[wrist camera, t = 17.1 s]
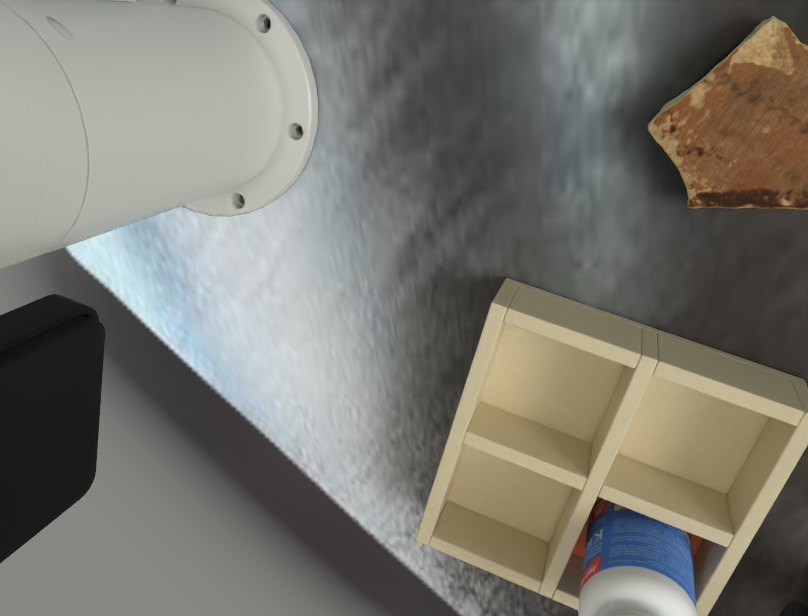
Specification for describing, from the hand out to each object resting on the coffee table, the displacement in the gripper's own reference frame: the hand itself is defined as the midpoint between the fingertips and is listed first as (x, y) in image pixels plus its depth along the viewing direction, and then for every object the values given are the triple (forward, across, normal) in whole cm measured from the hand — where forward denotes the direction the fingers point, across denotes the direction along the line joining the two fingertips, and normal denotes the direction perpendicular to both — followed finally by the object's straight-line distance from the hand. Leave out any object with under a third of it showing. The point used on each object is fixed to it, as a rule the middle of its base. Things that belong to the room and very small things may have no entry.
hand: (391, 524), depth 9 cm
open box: (+28, -6, +14) cm, 32 cm away
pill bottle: (+28, -10, +18) cm, 34 cm away
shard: (+28, -8, -5) cm, 30 cm away
